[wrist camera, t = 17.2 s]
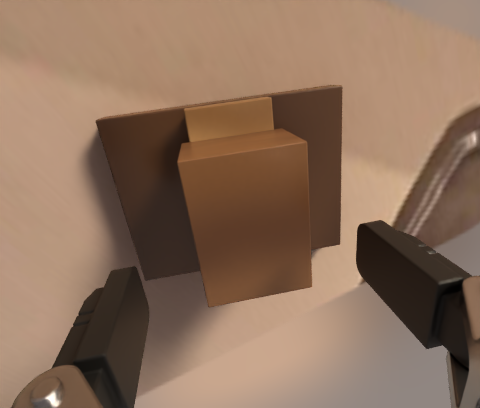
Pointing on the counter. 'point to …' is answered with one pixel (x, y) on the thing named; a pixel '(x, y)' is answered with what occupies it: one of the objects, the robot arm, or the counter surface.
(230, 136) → the stepped wooden block
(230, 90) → the counter surface
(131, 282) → the robot arm
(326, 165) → the board
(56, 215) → the counter surface
